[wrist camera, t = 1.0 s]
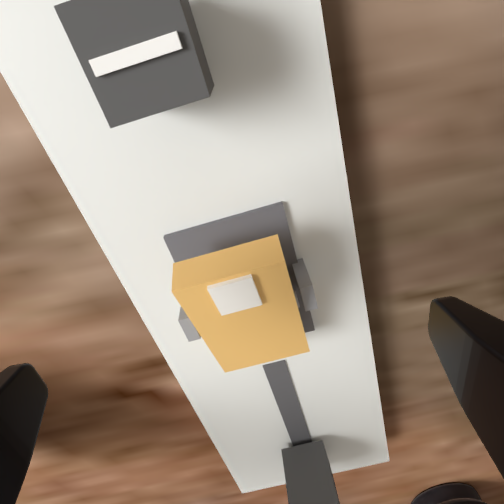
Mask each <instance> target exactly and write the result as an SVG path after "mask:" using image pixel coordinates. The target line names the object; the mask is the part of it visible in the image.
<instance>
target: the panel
mask: <svg viewBox="0 0 504 504" xmlns="http://www.w3.org/2000/svg"><path fill="white" fill-rule="evenodd" d="M66 1H69V0H0V72H1V74H2V75H3V77H4V79H5V80H6V82H7V84H8V86H9V87H10V89H11V91H12V93H13V94H14V96H15V98H16V100H17V101H18V103H19V105H20V107H21V108H22V110H23V112H24V114H25V115H26V117H27V119H28V121H29V122H30V124H31V126H32V128H33V129H34V131H35V133H36V135H37V136H38V138H39V140H40V142H41V143H42V145H43V147H44V148H45V150H46V152H47V154H48V155H49V157H50V159H51V161H52V162H53V164H54V166H55V168H56V169H57V171H58V173H59V175H60V176H61V178H62V180H63V182H64V183H65V185H66V187H67V189H68V190H69V192H70V194H71V196H72V197H73V199H74V201H75V203H76V204H77V206H78V208H79V210H80V211H81V213H82V215H83V216H84V218H85V220H86V222H87V223H88V225H89V227H90V229H91V230H92V232H93V234H94V236H95V237H96V239H97V241H98V243H99V244H100V246H101V248H102V250H103V251H104V253H105V255H106V257H107V258H108V260H109V262H110V264H111V265H112V267H113V269H114V271H115V272H116V274H117V276H118V278H119V279H120V281H121V283H122V284H123V286H124V288H125V290H126V291H127V293H128V295H129V297H130V298H131V300H132V302H133V304H134V305H135V307H136V309H137V311H138V312H139V314H140V316H141V318H142V319H143V321H144V323H145V325H146V326H147V328H148V330H149V332H150V333H151V335H152V337H153V339H154V340H155V342H156V344H157V346H158V347H159V349H160V351H161V352H162V354H163V356H164V358H165V359H166V361H167V363H168V365H169V366H170V368H171V370H172V372H173V373H174V375H175V377H176V379H177V380H178V382H179V384H180V386H181V387H182V389H183V391H184V393H185V394H186V396H187V398H188V400H189V401H190V403H191V405H192V407H193V408H194V410H195V412H196V414H197V415H198V417H199V419H200V420H201V422H202V424H203V426H204V427H205V429H206V431H207V433H208V434H209V436H210V438H211V440H212V441H213V443H214V445H215V447H216V448H217V450H218V452H219V454H220V455H221V457H222V459H223V461H224V462H225V464H226V466H227V468H228V469H229V471H230V473H231V475H232V476H233V478H234V480H235V482H236V483H237V485H238V487H239V488H240V490H241V492H242V493H246V492H251V491H255V490H260V489H264V488H269V487H274V486H278V485H283V484H286V480H285V473H284V466H283V458H282V451H281V449H284V448H289V447H293V446H298V445H302V444H306V443H311V442H315V441H320V440H323V443H324V446H325V450H326V453H327V456H328V459H329V463H330V467H331V471H332V474H333V473H338V472H342V471H347V470H351V469H356V468H360V467H365V466H369V465H374V464H379V463H383V462H388V461H389V454H388V447H387V441H386V434H385V427H384V421H383V414H382V407H381V401H380V394H379V387H378V381H377V374H376V368H375V361H374V354H373V348H372V341H371V334H370V328H369V321H368V314H367V308H366V301H365V294H364V288H363V281H362V274H361V268H360V261H359V254H358V248H357V241H356V235H355V228H354V221H353V215H352V208H351V201H350V195H349V188H348V181H347V175H346V168H345V161H344V155H343V148H342V141H341V135H340V128H339V121H338V115H337V108H336V102H335V95H334V88H333V82H332V75H331V68H330V62H329V55H328V48H327V42H326V35H325V28H324V22H323V15H322V8H321V2H320V0H189V4H190V7H191V10H192V14H193V17H194V20H195V23H196V27H197V30H198V33H199V36H200V40H201V43H202V46H203V50H204V53H205V56H206V59H207V63H208V66H209V69H210V73H211V76H212V79H213V82H214V88H213V90H212V93H211V96H210V97H208V98H205V99H202V100H199V101H195V102H192V103H189V104H186V105H183V106H180V107H176V108H173V109H170V110H167V111H164V112H161V113H158V114H154V115H151V116H148V117H145V118H142V119H139V120H136V121H132V122H129V123H126V124H123V125H120V126H117V127H114V128H110V126H109V124H108V122H107V120H106V118H105V116H104V113H103V111H102V109H101V107H100V105H99V103H98V101H97V98H96V96H95V94H94V92H93V90H92V88H91V86H90V83H89V81H88V79H87V77H86V75H85V73H84V71H83V68H82V66H81V64H80V62H79V60H78V58H77V56H76V53H75V51H74V49H73V47H72V45H71V43H70V41H69V38H68V36H67V34H66V32H65V30H64V28H63V26H62V23H61V21H60V19H59V17H58V15H57V13H56V11H55V8H54V6H55V5H58V4H61V3H64V2H66ZM276 234H278V237H279V241H280V245H281V248H282V252H283V255H284V259H285V263H286V266H287V270H288V274H289V277H290V281H291V284H292V288H293V291H296V294H297V298H298V302H299V305H300V307H299V308H298V310H299V313H300V317H301V321H302V324H303V328H304V332H305V335H306V339H307V342H308V346H309V350H310V352H306V353H302V354H298V355H294V356H290V357H286V358H282V359H278V360H274V361H270V362H266V363H262V364H258V365H254V366H250V367H246V368H242V369H238V370H234V371H230V372H226V373H225V372H224V370H223V369H222V367H221V366H220V364H219V363H218V361H217V360H216V358H215V357H214V355H213V354H212V352H211V351H210V349H209V348H208V346H207V345H206V343H205V342H204V340H203V339H202V337H201V336H200V334H199V333H198V331H197V330H196V328H195V327H194V325H193V324H192V322H191V321H190V319H189V318H188V316H187V315H186V313H185V311H184V310H183V308H182V307H181V305H180V304H179V302H178V301H177V299H176V298H175V296H174V295H173V293H172V273H173V263H176V262H180V261H183V260H187V259H190V258H194V257H198V256H201V255H205V254H208V253H212V252H215V251H219V250H223V249H226V248H230V247H233V246H237V245H240V244H244V243H248V242H251V241H255V240H258V239H262V238H266V237H269V236H273V235H276Z"/></svg>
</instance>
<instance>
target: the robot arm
mask: <svg viewBox="0 0 504 504" xmlns="http://www.w3.org/2000/svg"><path fill="white" fill-rule="evenodd" d="M428 332H429V336H430V339H431V341H432V343H433V346H434V348H435V350H436V352H437V354H438V357H439V359H440V361H441V363H442V365H443V368H444V370H445V372H446V374H447V377H448V379H449V381H450V383H451V385H452V388H453V390H454V392H455V394H456V396H457V398H458V400H459V402H460V404H461V406H462V408H463V410H464V412H465V414H466V415H467V417H468V419H469V420H470V422H471V424H472V426H473V427H474V429H475V431H476V432H477V434H478V436H479V437H480V439H481V441H482V443H483V444H484V446H485V448H486V449H487V451H488V453H489V455H490V456H491V458H492V460H493V461H494V463H495V465H496V466H497V468H498V470H499V472H500V473H501V475H502V477H503V478H504V321H502V320H500V319H498V318H496V317H494V316H492V315H490V314H488V313H486V312H484V311H482V310H480V309H478V308H476V307H474V306H472V305H470V304H468V303H466V302H464V301H462V300H460V299H458V298H456V297H452V296H449V297H442V298H436V299H434V300H432V302H431V305H430V314H429V323H428ZM47 398H48V388H47V385H46V384H45V382H44V381H43V379H42V378H41V377H40V375H39V374H38V372H37V371H36V370H35V368H34V367H33V366H32V365H31V364H29V363H24V364H17V365H12V366H9V367H7V368H6V369H5V370H3V371H2V372H1V373H0V504H15V503H16V500H17V498H18V495H19V492H20V490H21V487H22V484H23V481H24V479H25V476H26V473H27V470H28V467H29V464H30V461H31V457H32V454H33V450H34V447H35V443H36V439H37V436H38V432H39V428H40V424H41V421H42V417H43V413H44V410H45V406H46V402H47Z"/></svg>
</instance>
